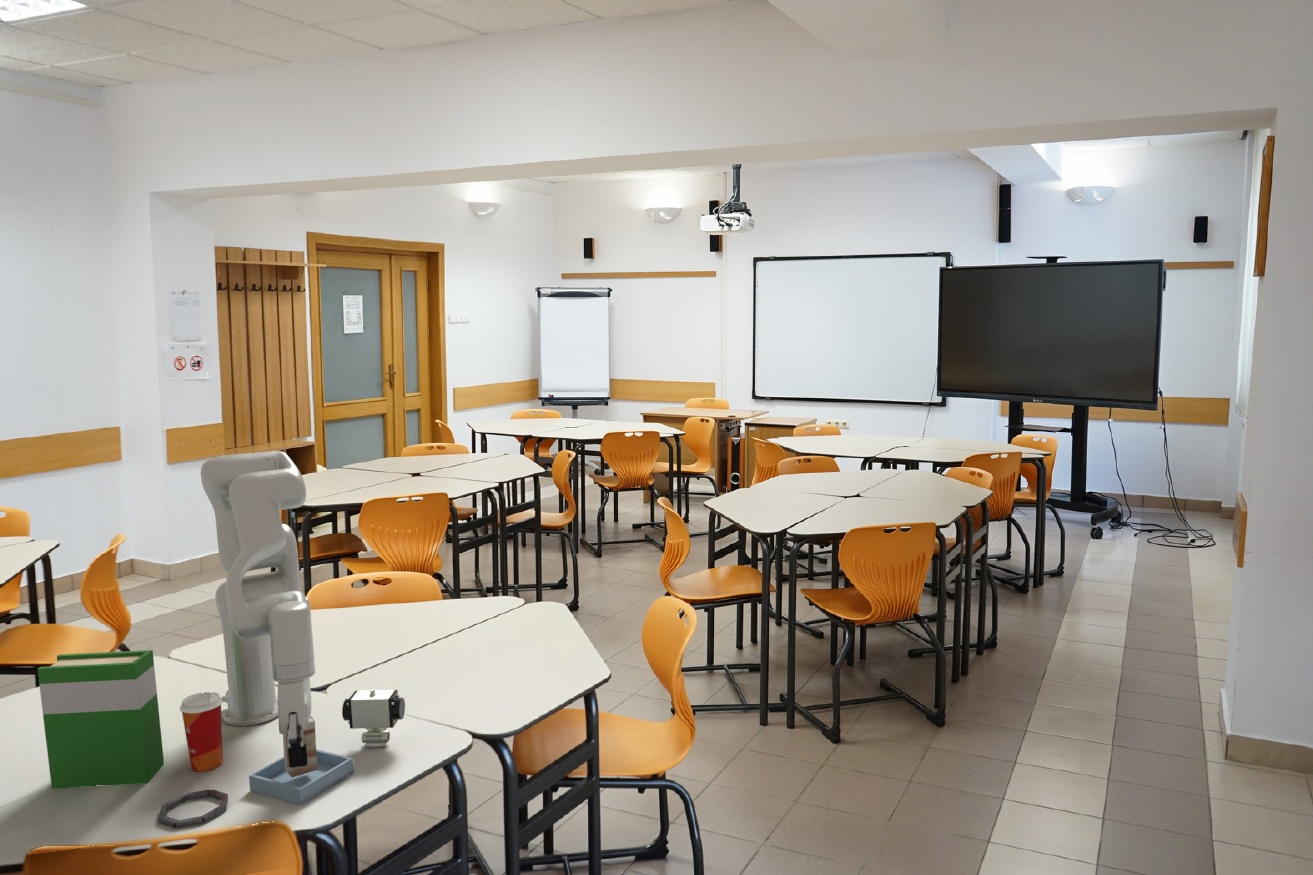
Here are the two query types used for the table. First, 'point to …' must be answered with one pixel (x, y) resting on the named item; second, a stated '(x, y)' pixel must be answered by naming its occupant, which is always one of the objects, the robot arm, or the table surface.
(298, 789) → the tray
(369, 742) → the pneumatic valve
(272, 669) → the robot arm
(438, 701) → the table surface
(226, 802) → the collar
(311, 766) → the skincare box
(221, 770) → the table surface
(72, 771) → the hardback book
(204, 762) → the paper cup
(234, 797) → the table surface
